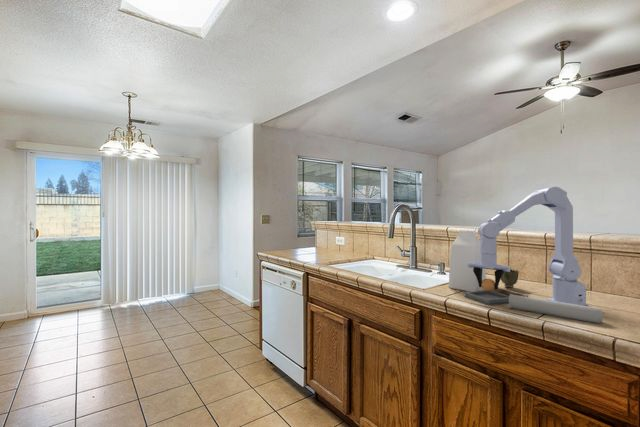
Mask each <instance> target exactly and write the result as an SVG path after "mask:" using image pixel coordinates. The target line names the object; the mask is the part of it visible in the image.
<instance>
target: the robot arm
mask: <svg viewBox="0 0 640 427" xmlns="http://www.w3.org/2000/svg"><path fill="white" fill-rule="evenodd" d="M539 205H542V206H544V207H547V208H549V210H551V211H553V212H554V253H553V255H552V256H551V260H550V263H548V264H549V265H548V270H549V272H550V273H551V274H552V298H551V297H550V298H549V297H548V298H546V300H550V301H557V302H563V303H570V304H576V305H583V306H588V303H587V288H586V284H584V283H583V282H581V281H578V279H579V278H580V277H581V274H582V269H581V268H582V267H580V264H579V259H578V258H577V257H576V256H575V255H574V207H573V205H572V203H571V201H570V199H569V198H568V192H567V191H566V190H564V189H563V188H561V187H559V186H551V187H546V188H544V187H543V188H539V189H537V190H536V191H534V192H531V193H530V194H529V195H527V196H526V197H525V198H523V200H521V201H519V203H517V204H515V206H513V207H511V209H509V210H507V209H505V210H504V209H503V210H499V211H497V214H496V215H495V216H494V217H492V218H488V219H487V220H486V221H487V222H483V223H481V224H480V225H479V227H478V229H477V232H478V234H479V236H480V237H479V238H480V239H479V240H480V263H471V262H469V263H468V268H474V269H473V272H474V273H475V275H476V278H477V280H478V284H479V287H482V286H481V283H482V269H485V270H490V271H494V282H495V289H498V287H499V286H500V285H499V284H500V281H501V277H502V275H503V273H504V271H506V272H510V269H511V265H504V264H498V257H497V255H498V254H497V249H498V248H497V246H498V245H497V237H498V236H500V232H501V231H503V230H504V229H506V228H507V227H509V226H510V225H512V224H513V223H514V222H516V221H515V220H516V217H518V216H519V215H521V214H522V213H524V212H526V211H527V210H529V209H530V208H532V207H534V206H539Z"/></svg>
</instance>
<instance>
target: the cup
mask: <svg viewBox="0 0 640 427" xmlns="http://www.w3.org/2000/svg"><path fill="white" fill-rule="evenodd" d="M519 272H520V271H519V270H517V269H512V268H510V272H506V271H504V273H503V275H502V277H501V279H500V281H501V283H502V284H504V287H505V289H513V288H514V287H515V285H516V284H517V282H518V279H519Z"/></svg>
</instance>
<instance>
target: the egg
mask: <svg viewBox="0 0 640 427" xmlns="http://www.w3.org/2000/svg"><path fill="white" fill-rule="evenodd" d="M481 286H482V288H483V290H485V291H493V290H494V289H495V280H494V279H491V278H487V277H486V279H484V280H483V281H482V283H481Z"/></svg>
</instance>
